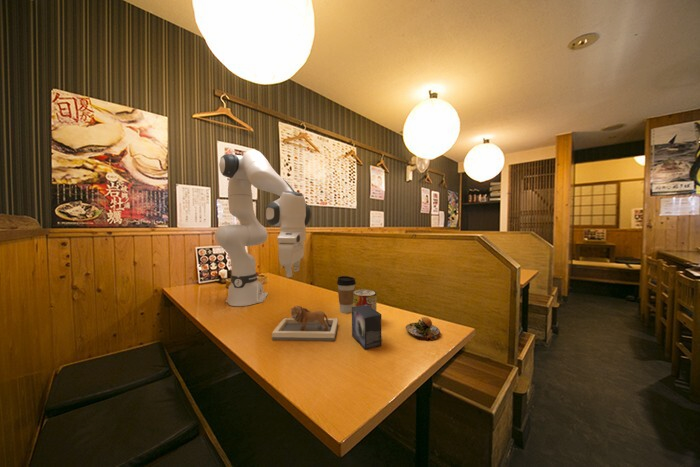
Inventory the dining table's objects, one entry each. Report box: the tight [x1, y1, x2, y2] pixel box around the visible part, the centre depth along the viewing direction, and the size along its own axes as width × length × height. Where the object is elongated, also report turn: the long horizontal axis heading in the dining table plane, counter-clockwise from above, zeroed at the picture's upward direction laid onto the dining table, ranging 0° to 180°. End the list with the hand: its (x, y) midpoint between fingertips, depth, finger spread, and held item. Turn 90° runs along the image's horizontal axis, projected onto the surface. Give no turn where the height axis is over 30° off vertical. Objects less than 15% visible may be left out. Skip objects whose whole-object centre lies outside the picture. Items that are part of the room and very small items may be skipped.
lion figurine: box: [290, 305, 332, 331], centre depth 88 cm, size 15×5×9 cm, turn 101°
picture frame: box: [271, 317, 339, 342], centre depth 88 cm, size 13×21×2 cm, turn 88°
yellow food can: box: [353, 289, 377, 311], centre depth 96 cm, size 9×9×12 cm
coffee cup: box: [336, 275, 357, 314], centre depth 109 cm, size 8×8×15 cm
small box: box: [351, 304, 383, 351], centre depth 81 cm, size 11×6×10 cm, turn 23°
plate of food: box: [405, 316, 441, 342], centre depth 87 cm, size 12×12×8 cm
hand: (293, 274), depth 89 cm, fingers open, 8 cm apart
